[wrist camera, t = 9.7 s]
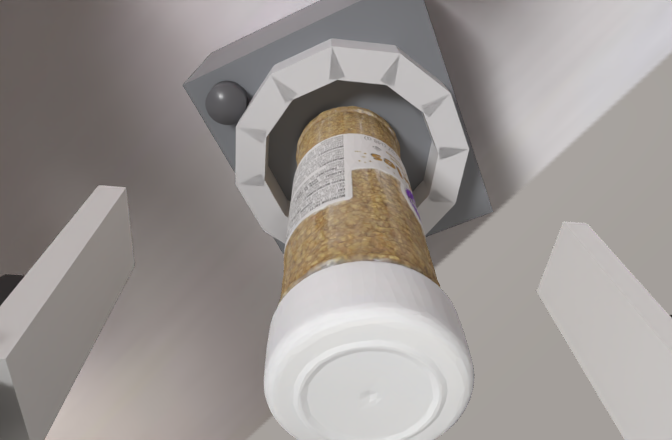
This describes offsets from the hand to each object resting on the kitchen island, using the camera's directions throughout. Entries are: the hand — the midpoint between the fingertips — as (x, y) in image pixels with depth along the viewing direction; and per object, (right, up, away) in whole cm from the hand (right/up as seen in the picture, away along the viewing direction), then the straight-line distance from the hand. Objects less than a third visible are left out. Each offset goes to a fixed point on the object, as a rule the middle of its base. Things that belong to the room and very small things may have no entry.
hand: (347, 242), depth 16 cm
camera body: (0, +7, +12) cm, 14 cm away
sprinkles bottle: (0, +4, +7) cm, 8 cm away
